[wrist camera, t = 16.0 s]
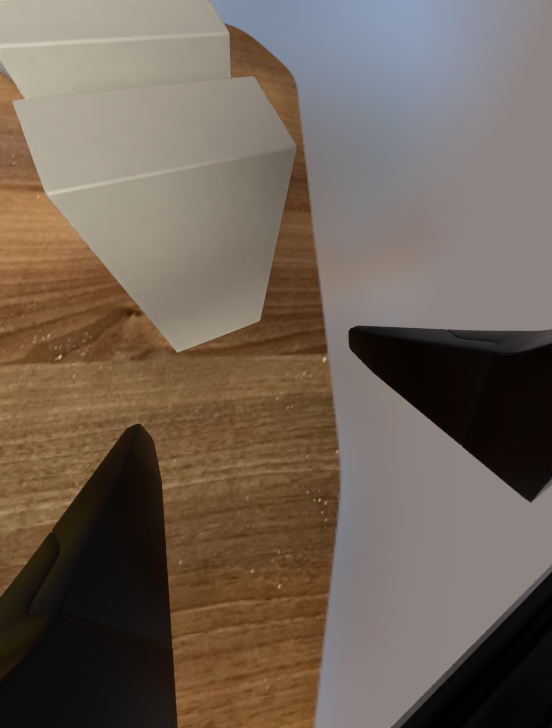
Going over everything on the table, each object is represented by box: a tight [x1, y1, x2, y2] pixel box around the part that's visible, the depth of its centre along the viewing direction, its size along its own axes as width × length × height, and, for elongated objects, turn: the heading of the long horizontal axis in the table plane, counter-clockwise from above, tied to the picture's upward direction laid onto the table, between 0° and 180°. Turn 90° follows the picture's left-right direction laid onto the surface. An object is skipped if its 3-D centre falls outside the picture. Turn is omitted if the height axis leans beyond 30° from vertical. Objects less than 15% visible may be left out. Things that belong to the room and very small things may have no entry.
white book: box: [13, 76, 296, 353], centre depth 12 cm, size 3×6×12 cm, turn 116°
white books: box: [0, 0, 231, 99], centre depth 13 cm, size 6×7×13 cm
